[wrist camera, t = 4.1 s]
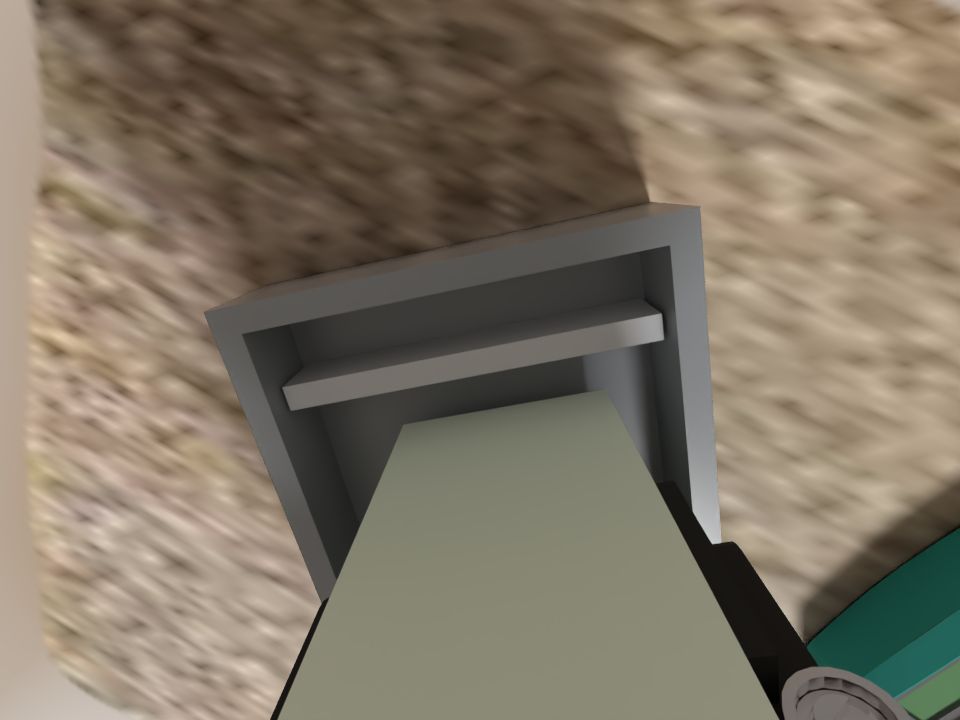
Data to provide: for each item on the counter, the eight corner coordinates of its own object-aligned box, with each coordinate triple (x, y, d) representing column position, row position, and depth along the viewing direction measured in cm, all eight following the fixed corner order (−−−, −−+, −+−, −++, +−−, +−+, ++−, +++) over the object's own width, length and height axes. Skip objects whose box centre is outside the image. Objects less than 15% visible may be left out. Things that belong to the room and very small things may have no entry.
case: (651, 202, 12) (699, 206, 9) (687, 584, 16) (729, 671, 13) (267, 285, 13) (203, 312, 10) (389, 627, 17) (368, 717, 14)
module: (605, 388, 12) (968, 1077, 3) (629, 557, 13) (909, 1361, 4) (403, 424, 12) (115, 1097, 3) (449, 583, 14) (345, 1344, 5)
